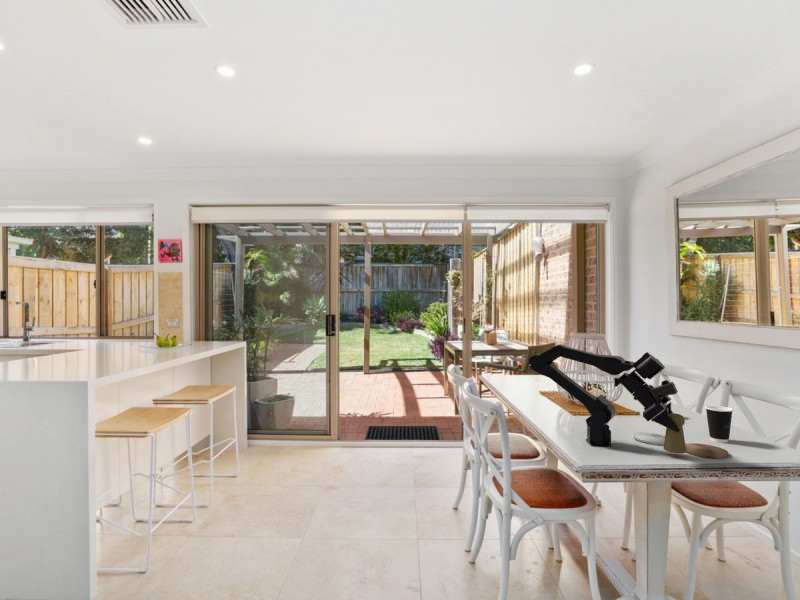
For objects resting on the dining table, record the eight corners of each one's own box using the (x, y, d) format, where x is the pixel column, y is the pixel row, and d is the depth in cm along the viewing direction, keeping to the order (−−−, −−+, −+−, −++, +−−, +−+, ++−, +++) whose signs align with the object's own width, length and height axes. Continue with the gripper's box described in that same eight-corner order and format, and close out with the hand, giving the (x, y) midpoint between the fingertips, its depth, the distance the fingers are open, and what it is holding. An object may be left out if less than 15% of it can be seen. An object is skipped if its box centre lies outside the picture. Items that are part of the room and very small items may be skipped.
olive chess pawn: (678, 446, 142) (677, 411, 142) (691, 453, 136) (691, 416, 136) (659, 446, 142) (658, 411, 141) (671, 453, 136) (671, 417, 135)
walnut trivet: (694, 457, 137) (694, 454, 137) (674, 445, 149) (674, 442, 149) (737, 459, 136) (737, 455, 136) (714, 447, 147) (713, 443, 147)
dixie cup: (735, 445, 149) (735, 411, 150) (706, 441, 153) (706, 409, 153) (732, 439, 156) (731, 407, 156) (704, 436, 160) (703, 404, 160)
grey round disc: (661, 447, 147) (661, 444, 147) (626, 437, 157) (626, 434, 157) (681, 443, 153) (681, 440, 153) (647, 434, 163) (647, 431, 163)
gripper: (655, 376, 134) (700, 419, 127) (663, 369, 149) (703, 407, 142) (625, 399, 138) (667, 442, 131) (636, 390, 153) (674, 428, 147)
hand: (679, 429), depth 138 cm, fingers closed on olive chess pawn, 5 cm apart
